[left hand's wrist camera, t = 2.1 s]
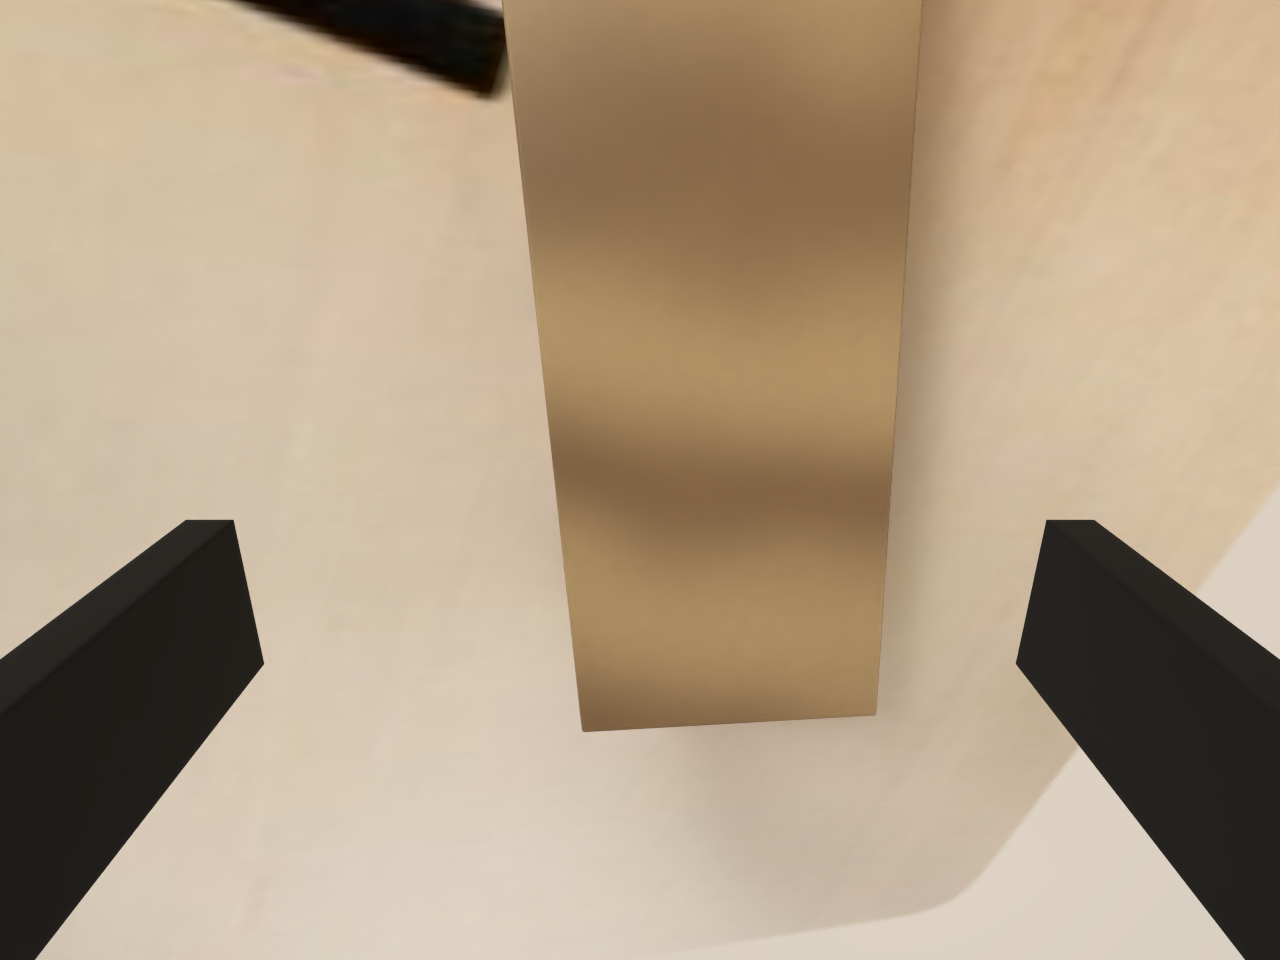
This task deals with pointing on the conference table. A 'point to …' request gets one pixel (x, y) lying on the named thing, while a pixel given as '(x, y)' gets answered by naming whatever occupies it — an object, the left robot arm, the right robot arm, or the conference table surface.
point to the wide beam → (719, 340)
